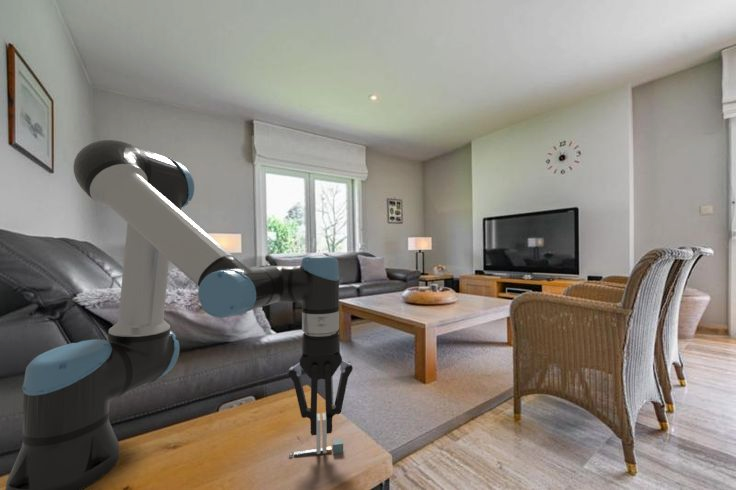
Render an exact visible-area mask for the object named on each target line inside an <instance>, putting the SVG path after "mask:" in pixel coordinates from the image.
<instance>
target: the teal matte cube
mask: <svg viewBox="0 0 736 490" xmlns="http://www.w3.org/2000/svg"><path fill="white" fill-rule="evenodd" d="M332 454H333V455H334V454H335V455H336V454H337V455H338V454H344V440H343V438H337V439H334V438H333V439H332Z"/></svg>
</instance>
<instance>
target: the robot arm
mask: <svg viewBox="0 0 736 490" xmlns="http://www.w3.org/2000/svg"><path fill="white" fill-rule="evenodd" d="M73 173H74V174H73V175H74V177H75V179H76V180H75V181H76V182H77V184H78V185H79V187H80V188H81V189H82V191H83V192H84V193H85V194H86V195H87V196H88V197H89V198H91V199H92V201H94V202H95V203H96V204H97V205H99V206H101V207H105V208H110V209H112V210H113V211H114V212H115V213H116V214H118V215H119V216H120V217H121V218H122V219H123V220H124V221H125V222H127V226H126V234H125V235H126V237H125V246H124V258H123V267H122V276H121V287H120V297H119V307H118V308H119V311H118V318H117V322H116V323H115V324H114V325H112V327H110V328H109V329H108V332H107V340H106V339H101V338H100V339H99V338H98V339H86V340H81V341H78V342H71V343H67V344H64V345H61V346H58V347H55V348H52V349H49V350H47V351H45V352H43V353H40V354H39V355H37V356H36V357H34V358H33V359H32V360H31V361H30V362H29V363H28V365H27V366H26V369H25V373H24V378H23V383H22V387H21V388H22V389H21V390H22V392H23V405H22V406H23V412H22V413H23V415H22V443H21V447H20V450H19V452H18V455H17V457H16V459H15V461H14V464H13V466H12V468H11V471H10V473H9V475H8V478H7V480H6V483H5V490H83V489H84V488H86V487H88V486H90V485H92V484H94V483H95V482H97V481H98V480H100V479H101V478H103V477H104V476H106V475H107V474H108V473H109V472H110V471H111V470H112V469H113V468H114V467H115V466H116V465H117V463H118V461H119V459H120V442H119V441H118V438H117V436H116V434H115V432H114V429H113V427H112V424H111V422H110V402H111V401H113V400H114V399H116V398H120V397H122V396H124V395H125V394H128V393H130V392H132V391H134V390H136V389H138V388H139V389H140V387H143V386H145V385H149V384H151V383H153V382H155V381H157V380H158V379H160V378H161V377H164V376H165V375H167V374H168V373H169V372H170V371H171V370H172V369H173V368H174V367H175V365H176V363H177V361H178V358H179V355H180V343H179V340H177V339H176V338H177V335H176V334H175V333H174V332H173V331H172V330H171V325H170V324H169V323H168V322H167V321H166V320H165V319H164V318H165V308H166V297H167V288H168V287H167V284H168V275H169V264H170V263H172V265H174V266H175V267H176V268H178V270H179V271H180V272H182V273H183V274H184V275H185V276H186V277H187V278H188V279H189V280H191V282H193V283H194V284H195V285H196V286H197V287H198V290H197V291H198V292H197V297H198V300H199V302H200V305H201V308H202V309H203V311H204V312H205V313H206V314H208V315H210V316H212V317H214V318H217V319H224V318H230V317H235V316H241V315H243V314H246V313H247V312H249V311H253V310H256V309H258V308H262V307H266V306H269V305H272V304H275V303H301V330H302V332H303V334H302V336H301V356H300V359H299V362H298V363H296V364H295V365H291V366H290V367H289V369H288V376H289V378H290V379H291V380H292V382H293V385H294V390H295V393H296V398H297V403H298V406H299V412H300V415H301V418H303V419H305V418H306V419H307V418H308V419H309V421H310V434H311V436H316V441H315V442H316V446H315V447H316V448H315V449H317V454H316V455H321V454H320V448H321V447H322V448H323V454H328V453H327V447H328V446H327V445H328V444H327V443H328V441H327V437H328V434H332V433H333V417H334V416H335V415H340V414H341V413H342V410H343V406H344V401H345V400H344V399H345V394H346V390H347V383H348V380H349V377H350V375H351V374H352V372H353V364H352V362H351V361H346V360H344V359H343V358H342V355H341V353H340V332H339V329H340V274H339V273H340V272H339V271H340V270H339V261H338V259H337V257H335V256H327V255H324V256H323V255H321V256H318V255H317V256H315V255H314V256H303V257H302V259H301V264H300V265H296V266H295V265H294V266H293V265H268V264H266V265H257V266H252V267H247V266H245V264H243V263H242V262H241V261H239V260H238V258H236V257H235V256H234V255H233V254H232V253H231V252H229V251H228V250H227V249H226V248H224V247H223V246H222V245H221V244H220V243H219V242H217V240H215V238H213V237H212V236H211V235H210V234H208V232H206V231H205V230H204V229H203V228H201V227H200V226H199V225H198V224H197V223H196V222H195V221H194V220H192V219H191V218H190V217H189V216H188V215H186V214H185V212H183V211H182V208H184V207H186V206H187V205H189V202H190V201H192V200H193V198H194V194H195V182H194V179H193V176H192V174H191V172H190V171H189V170H188V168H187V167H186V166H184V165H183V164H182V163H181V162H179V161H176V160H174V159H172V158H170V157H168V156H165V155H161V154H158V153H155V152H153V151H150V150H146V149H144V148H140V147H138V146H135V145H133V144H131V143H127V142H125V141H122V140H114V139H103V140H96V141H94V142H90V143H89V144H87V145H85V146H84V147H83V148H81V149H80V150H79V152H78V153H77V154H76V156H75V158H74V161H73ZM338 368H340V369H339V370H340V377H339V380H338V386H337V391H336V396H335V401H334V404H333V401H332V400H333V399H332V398H333V396H332V392H333V391H332V377H333V376H334V375H335V373H336V372H337V370H338ZM302 371H304V373H305V374H306V375H307V376H308V377H309V379H311V380H310V382H311V383H310V385H311V386H310V408H309V407H308V403H307V399H306V395H305V391H304V386H303V381H302V377H301V376H302ZM322 379H323V380H324V394H325V395H324V399H325V402H324V403H325V412H322V414H321V413H318V380H322ZM321 418H322V420H321ZM321 421H322V422H321ZM321 424H322V425H321ZM321 428H322V432H321ZM321 433H322V434H321ZM321 435H322V436H321ZM321 437H322V438H321ZM321 440H322V443H321ZM321 444H322V445H321Z"/></svg>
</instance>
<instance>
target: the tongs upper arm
mask: <svg viewBox="0 0 736 490" xmlns="http://www.w3.org/2000/svg"><path fill="white" fill-rule="evenodd" d="M323 454H324V453H323V447H320V454H319V455H323ZM326 454H333V448H332V446H327V453H326ZM314 455H318V454H317V448H314V449H306V450H299V451H294V452H293V451H290V452H289V455H288V458H289V459H291V458H296V457H305V456H314Z"/></svg>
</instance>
